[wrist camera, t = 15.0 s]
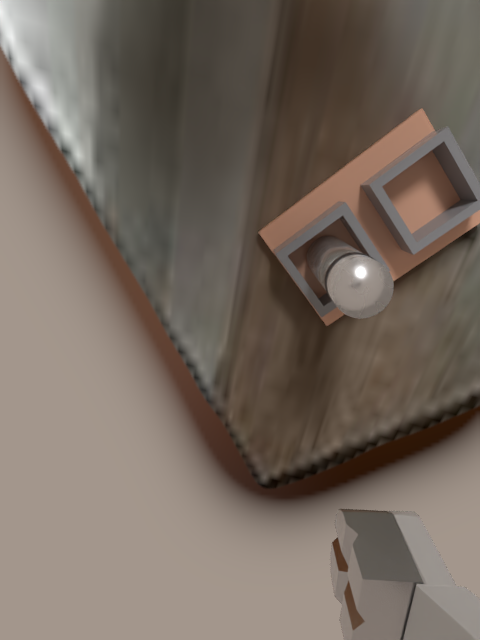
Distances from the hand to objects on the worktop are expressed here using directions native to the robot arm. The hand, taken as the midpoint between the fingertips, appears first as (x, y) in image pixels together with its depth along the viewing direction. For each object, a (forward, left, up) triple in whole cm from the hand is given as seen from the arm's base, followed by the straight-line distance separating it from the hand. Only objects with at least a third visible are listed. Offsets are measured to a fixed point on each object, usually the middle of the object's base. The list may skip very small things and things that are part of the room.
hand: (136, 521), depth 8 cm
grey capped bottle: (+6, +8, -34) cm, 35 cm away
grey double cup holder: (+6, +13, -35) cm, 38 cm away
